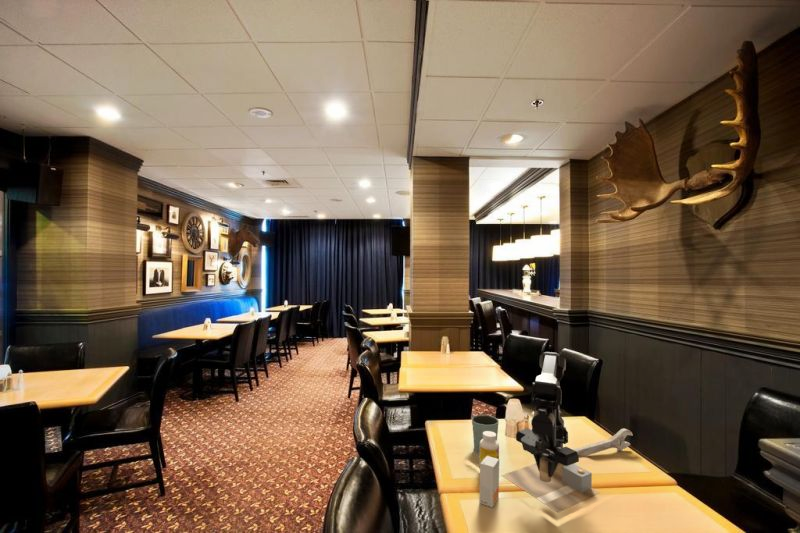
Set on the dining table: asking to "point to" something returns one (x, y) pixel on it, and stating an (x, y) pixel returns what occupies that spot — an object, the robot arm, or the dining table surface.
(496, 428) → the grey green cup
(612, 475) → the dining table surface
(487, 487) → the skincare box
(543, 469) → the tan small bottle
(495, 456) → the supplement bottle
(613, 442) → the wrench
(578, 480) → the block
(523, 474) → the board
